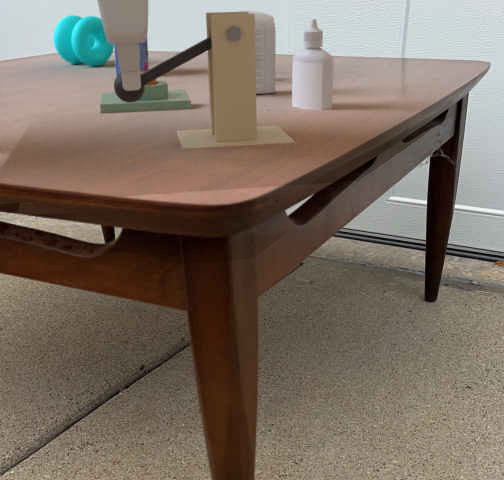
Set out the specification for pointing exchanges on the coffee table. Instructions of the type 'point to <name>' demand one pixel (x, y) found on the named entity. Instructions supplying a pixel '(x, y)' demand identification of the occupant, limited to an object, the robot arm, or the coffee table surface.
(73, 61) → the cyan double wheel
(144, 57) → the ink cartridge box
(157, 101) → the button box
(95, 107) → the coffee table surface
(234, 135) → the bracket
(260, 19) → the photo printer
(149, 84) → the button
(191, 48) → the lever
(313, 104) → the eye dropper bottle
